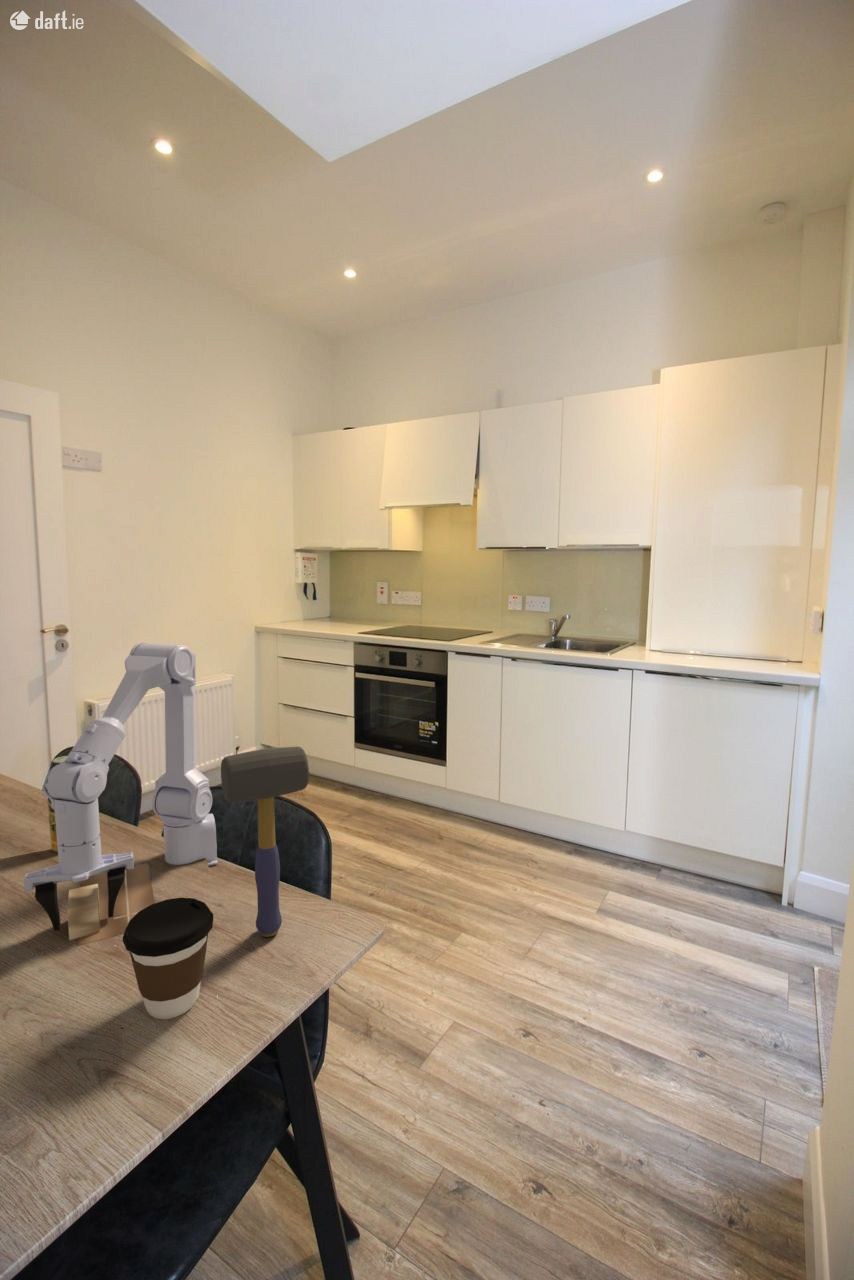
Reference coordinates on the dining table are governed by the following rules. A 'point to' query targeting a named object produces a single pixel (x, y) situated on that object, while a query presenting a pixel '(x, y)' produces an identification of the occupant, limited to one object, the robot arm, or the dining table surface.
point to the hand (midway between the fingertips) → (84, 920)
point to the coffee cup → (169, 953)
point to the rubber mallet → (265, 814)
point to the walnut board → (120, 901)
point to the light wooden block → (83, 911)
